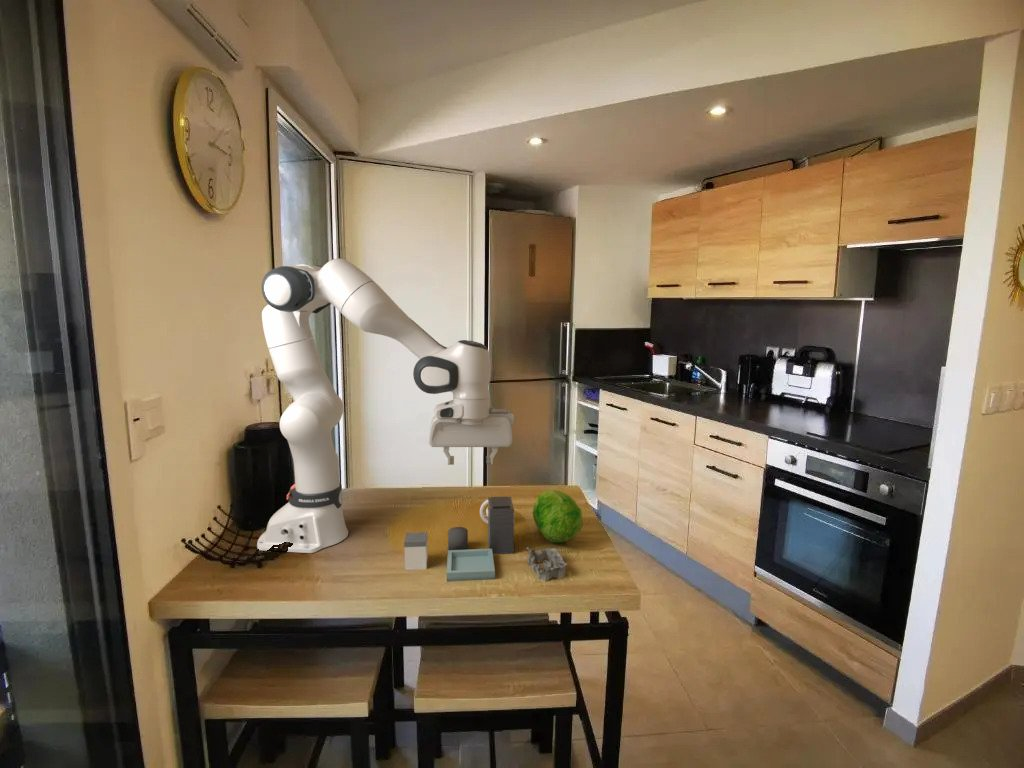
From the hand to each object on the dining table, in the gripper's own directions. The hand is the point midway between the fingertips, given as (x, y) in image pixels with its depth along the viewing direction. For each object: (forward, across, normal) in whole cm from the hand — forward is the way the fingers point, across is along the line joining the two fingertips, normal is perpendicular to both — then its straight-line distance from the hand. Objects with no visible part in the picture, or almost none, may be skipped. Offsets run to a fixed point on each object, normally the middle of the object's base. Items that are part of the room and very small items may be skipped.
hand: (470, 463), depth 127 cm
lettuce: (+24, -24, -10) cm, 35 cm away
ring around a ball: (+24, -8, -16) cm, 30 cm away
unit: (+24, -8, -4) cm, 25 cm away
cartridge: (+24, +13, +3) cm, 28 cm away
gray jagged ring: (+24, -18, +9) cm, 31 cm away
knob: (+24, +2, -4) cm, 25 cm away
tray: (+24, 0, +6) cm, 25 cm away
